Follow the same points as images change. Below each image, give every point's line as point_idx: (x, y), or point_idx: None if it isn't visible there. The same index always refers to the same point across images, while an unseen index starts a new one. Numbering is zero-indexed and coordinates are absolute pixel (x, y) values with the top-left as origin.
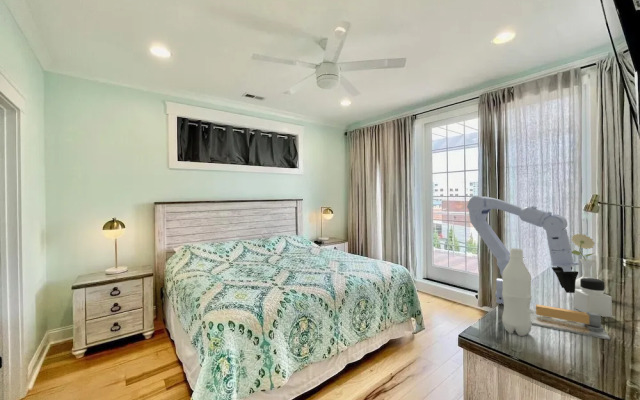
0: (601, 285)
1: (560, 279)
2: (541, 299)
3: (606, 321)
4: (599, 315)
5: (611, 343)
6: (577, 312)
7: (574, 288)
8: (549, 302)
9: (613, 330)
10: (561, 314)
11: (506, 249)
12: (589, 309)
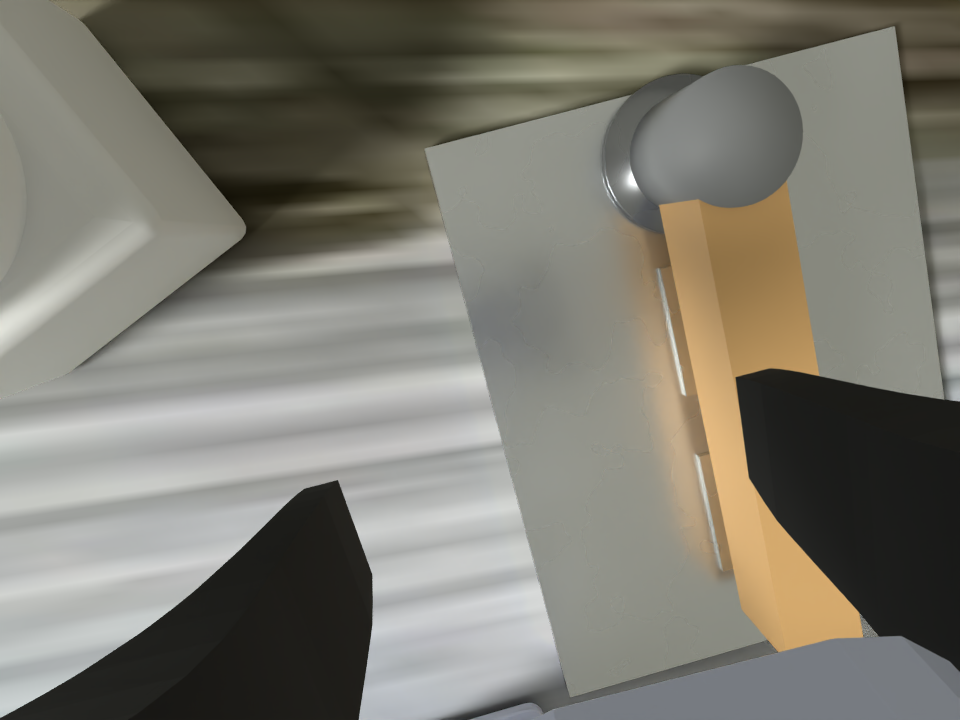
0: None
1: (346, 703)
2: (19, 681)
3: (302, 68)
4: (736, 79)
5: (955, 22)
6: (773, 288)
7: (828, 384)
8: (69, 598)
9: (568, 8)
10: None
11: None
12: (221, 215)
